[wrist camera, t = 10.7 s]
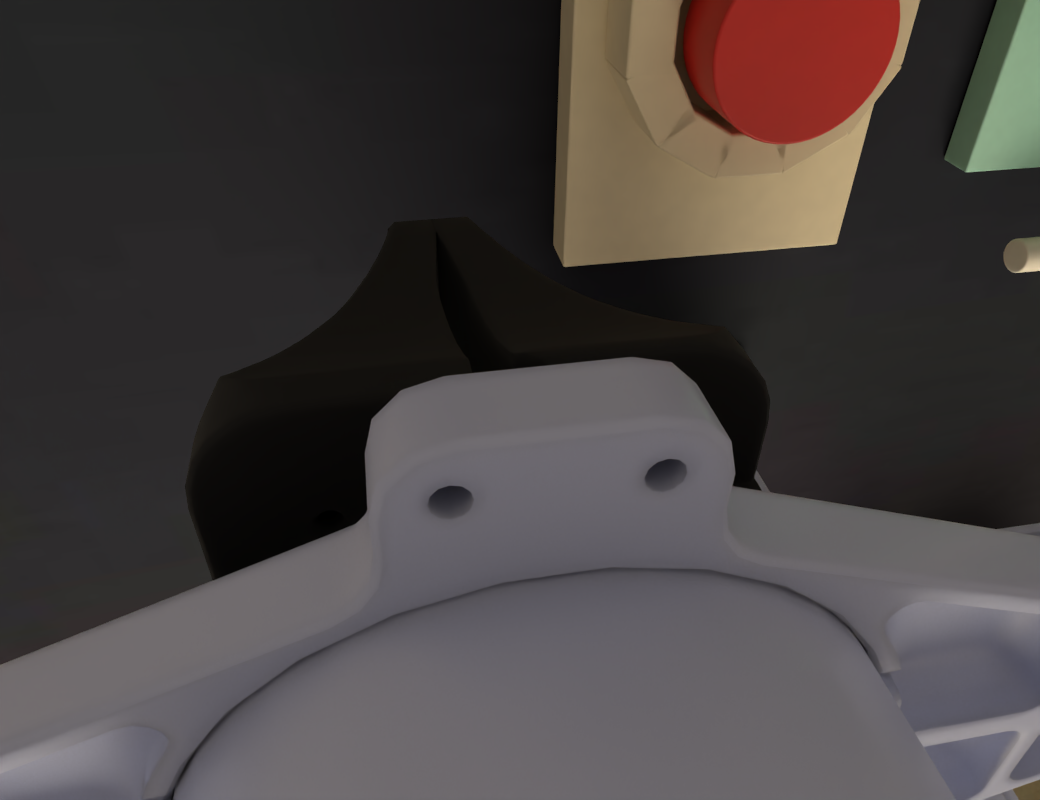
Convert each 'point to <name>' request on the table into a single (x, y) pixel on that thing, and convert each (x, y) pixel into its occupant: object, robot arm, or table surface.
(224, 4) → the table surface
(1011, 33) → the bracket
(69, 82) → the table surface
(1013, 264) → the lever
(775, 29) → the red button
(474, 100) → the table surface
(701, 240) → the button housing
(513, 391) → the robot arm
